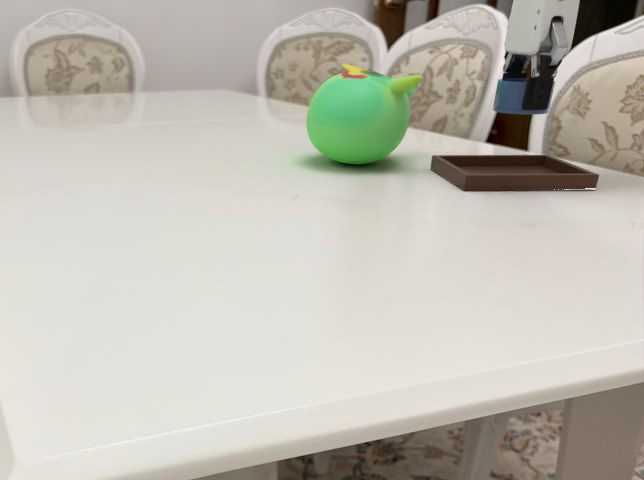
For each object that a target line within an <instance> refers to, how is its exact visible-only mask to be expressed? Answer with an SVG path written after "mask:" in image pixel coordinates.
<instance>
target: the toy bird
mask: <svg viewBox="0 0 644 480" xmlns="http://www.w3.org/2000/svg"><path fill="white" fill-rule="evenodd" d="M341 66H342V67H343V68H344V70H346V72H341V73H338V74H336V75H334V76H332V77H330V78H328V79H327V80H325V81H324V82H323V83H322V84H321V85H320V86H319V87H318V89H317V90H316V91H315V93H314V94H313V96H312V98H311V100H310V103H309V105H308V109H307V113H306V122H305V123H306V133H307V135H308V138H309V140H310V142H311V144H312V145H313V147H314V148H315V149H316V150H317V151H318V152H319V153H320V154H322V155H323V156H324V157H326V158H329V159H330V160H332V161H335V162H338V163H340V164H341V163H342V164H347V165H366V164H371V163H374V162H377V161H379V160H382V159H384V158H385V157H387V156H389V155H390V154H391V153H393V152H394V151H395V150H396V149H397V148H398V146H399V145H400V144H401V142H402V141H403V139H404V138H405V136H406V133H407V131H408V129H409V125H410V121H411V103H410V100H409V99H410V97H411V96H412V95H413V94H414V93H415V92H416V90H417V89H418V88H419V86H420V84H421V82H422V81H423V77H422V76H421V75H418V74H415V75H406V76H400V77H397V78H396V77H395V78H392V77H390V76H388V75H386V74H384V73H380V72H377V71H376V70H373V69H372V70H371V69H365V68H362V67H359V66H356V65H352V64H348V63H342V64H341Z"/></svg>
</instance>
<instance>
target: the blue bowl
mask: <svg viewBox="0 0 644 480" xmlns="http://www.w3.org/2000/svg"><path fill="white" fill-rule="evenodd" d="M527 78H528V77H527ZM527 78H505V79H502V78H499V79H498V80H497V86H496V90H495V95H494V100H493V105H492V111H493V112H496V113H500V114H507V115H508V114H509V115H527V116H528V115H547V114H548V113H549V109H550V108H551V107H550V106H551V102H552V98H553V95H554V94H553V93H554V90H555V85H556V81H555V80H554V81H553V86H552V90H551V95H550V99H549V104H548V108H547V109H546V110H523V109H522V103H523V98H524V93H525V88H526V83H527Z"/></svg>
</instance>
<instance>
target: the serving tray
mask: <svg viewBox="0 0 644 480" xmlns="http://www.w3.org/2000/svg"><path fill="white" fill-rule="evenodd" d="M429 168H431V169H433V170H434V171H436V172H437V173H438V174H437V173H436V172H435V173H436V174H437V175H439V174H440V175H441V176H440V175H439V176H440V177H442V176H443V177H444V178H443V177H442V178H443V179H445V180H446V179H447V180H446V181H447V182H449V181H450V182H449V183H451V184H452V183H453V184H452V185H454V186H455V187H457V188H459V189H460V190H462V191H463V192H494V191H495V192H508V191H509V192H513V191H514V192H520V191H519V190H554V189H555V190H558V189H559V190H562V189H563V190H564V189H585V188H596V189H597V186H598V182H599V178H600V174H598V173H596V172H593V171H591V170H589V169H585V168H584V167H581V166H578V165H575V164H573V163H570V162H568V161H565V160H563V159H560V158H558V157H555V156H553V155H550V154H433V155H431V161H430V166H429ZM431 169H430V170H431ZM434 171H433V172H434ZM517 190H518V191H517Z"/></svg>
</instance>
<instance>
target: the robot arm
mask: <svg viewBox="0 0 644 480" xmlns="http://www.w3.org/2000/svg"><path fill="white" fill-rule="evenodd" d="M580 1H581V0H513V1H512V6H511V9H510V14H509V19H508V23H507V28H506V32H505V38H504V39H505V41H504V52H505V53H504V55H503V58H504V63H503V66H502V77H501V79H505V78H527V83H526V88H525V93H524V98H523V103H522V109H523V110H546V109H547V108H548V104H549V99H550V95H551V90H552V86H553V81H555V78H556V77H557V75H558V68H559V67H560V65H561V64H562V62H563V58H564V56H565V55H566V54H568V53H569V52H570V51H571V48H572V44H573V39H574V34H575V29H576V25H577V18H578V14H579V8H580ZM541 60H542V62H541ZM530 61H531V62H530ZM529 64H530V67H531V69H530V70H531V71H530V72H531V74H530V75H531V76H530V77H529V76H528V72H526V70H527V68H528V66H529Z"/></svg>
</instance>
